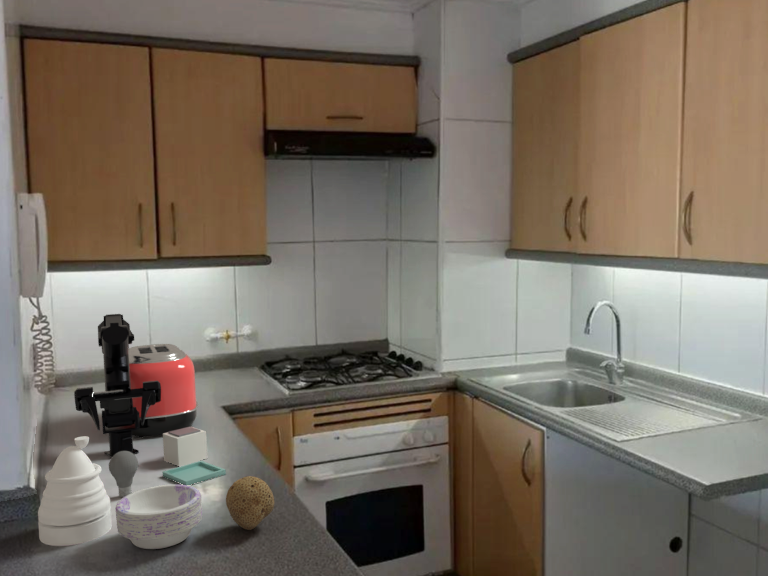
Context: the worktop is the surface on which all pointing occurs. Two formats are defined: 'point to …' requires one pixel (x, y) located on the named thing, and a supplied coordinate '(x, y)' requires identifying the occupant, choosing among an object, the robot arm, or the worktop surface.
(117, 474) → the light bulb
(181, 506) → the paper bowls
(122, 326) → the robot arm
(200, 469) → the tray
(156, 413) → the toaster
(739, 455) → the worktop surface
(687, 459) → the worktop surface
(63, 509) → the honey pot
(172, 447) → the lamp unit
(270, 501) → the natural sponge
